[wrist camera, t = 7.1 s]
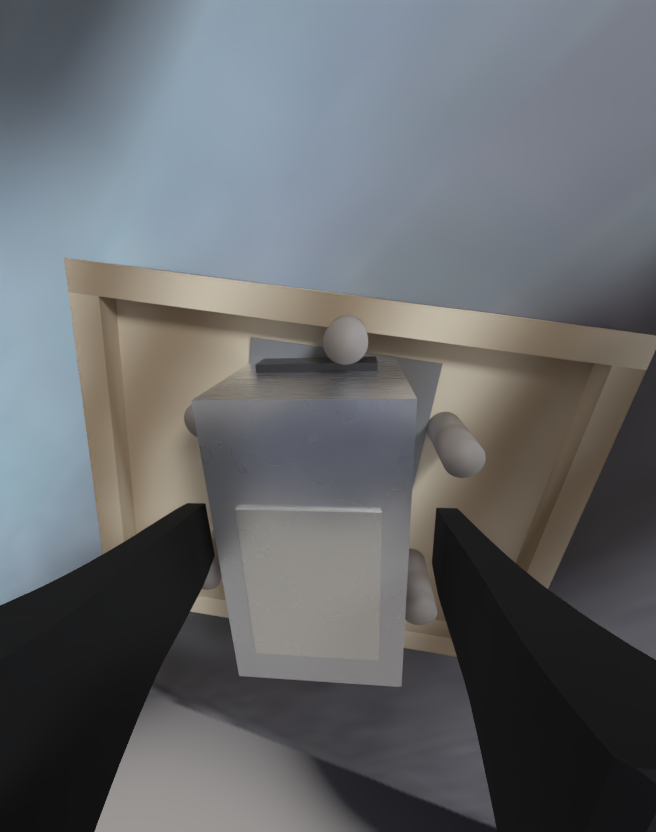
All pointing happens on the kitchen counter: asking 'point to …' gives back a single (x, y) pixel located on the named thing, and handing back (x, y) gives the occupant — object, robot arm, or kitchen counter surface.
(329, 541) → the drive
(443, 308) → the tray
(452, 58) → the kitchen counter surface
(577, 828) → the robot arm
